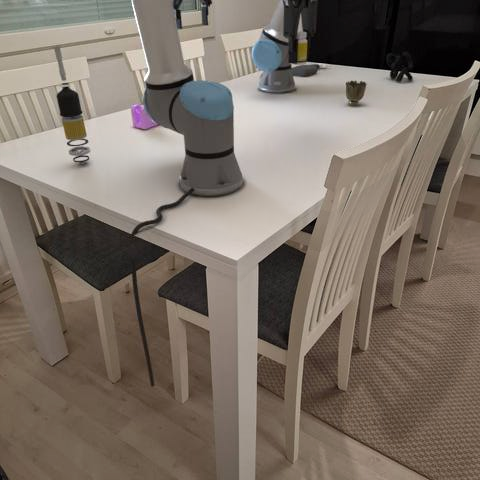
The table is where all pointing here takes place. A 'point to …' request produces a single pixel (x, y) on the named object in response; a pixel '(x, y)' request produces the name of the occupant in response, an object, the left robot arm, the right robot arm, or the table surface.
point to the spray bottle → (307, 69)
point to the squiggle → (399, 66)
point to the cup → (355, 91)
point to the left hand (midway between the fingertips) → (298, 61)
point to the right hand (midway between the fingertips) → (192, 26)
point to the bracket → (141, 118)
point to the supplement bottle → (301, 48)
